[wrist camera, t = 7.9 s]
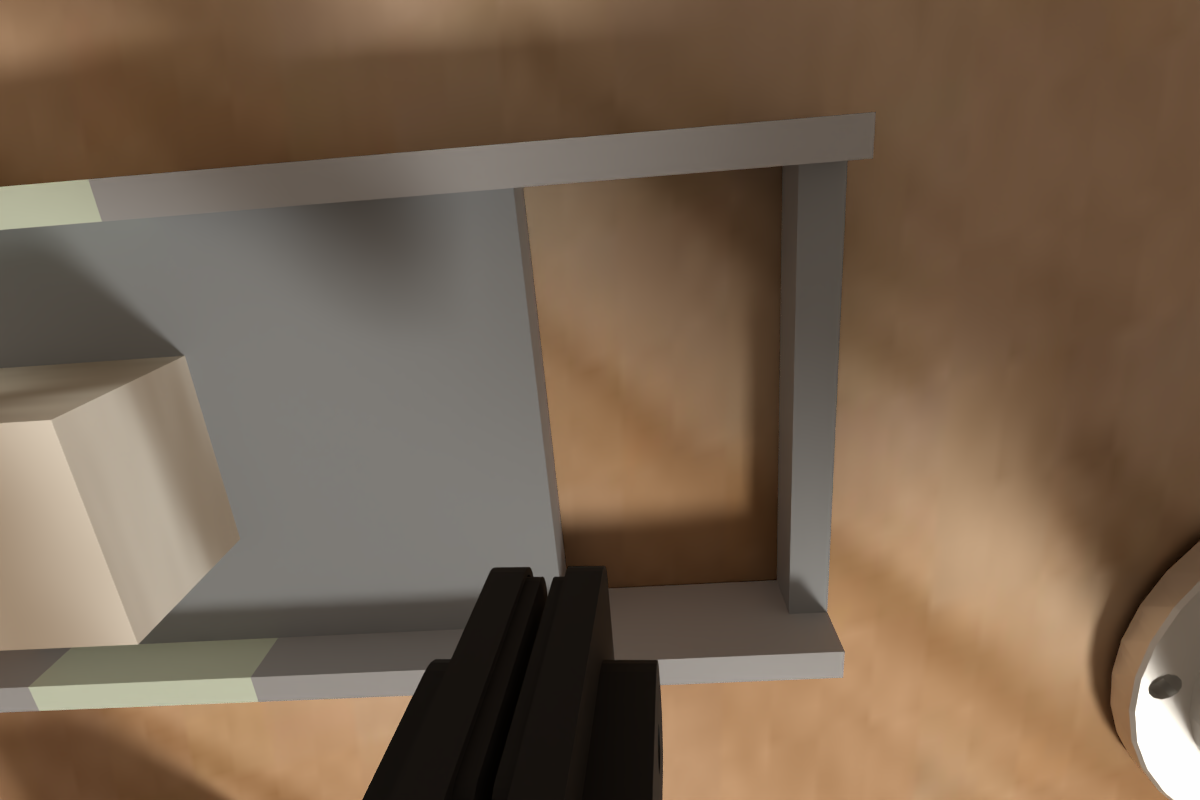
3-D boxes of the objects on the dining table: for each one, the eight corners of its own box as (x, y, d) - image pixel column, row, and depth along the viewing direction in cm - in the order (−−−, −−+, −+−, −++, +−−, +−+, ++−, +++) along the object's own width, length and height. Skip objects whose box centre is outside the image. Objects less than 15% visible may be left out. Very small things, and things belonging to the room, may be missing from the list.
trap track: (828, 118, 15) (875, 112, 12) (811, 601, 20) (842, 677, 17) (-403, 223, 17) (-609, 238, 14) (-157, 647, 21) (-276, 724, 18)
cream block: (184, 355, 16) (50, 419, 12) (240, 539, 18) (138, 644, 14) (-17, 369, 16) (-209, 436, 12) (57, 548, 18) (-91, 654, 14)
